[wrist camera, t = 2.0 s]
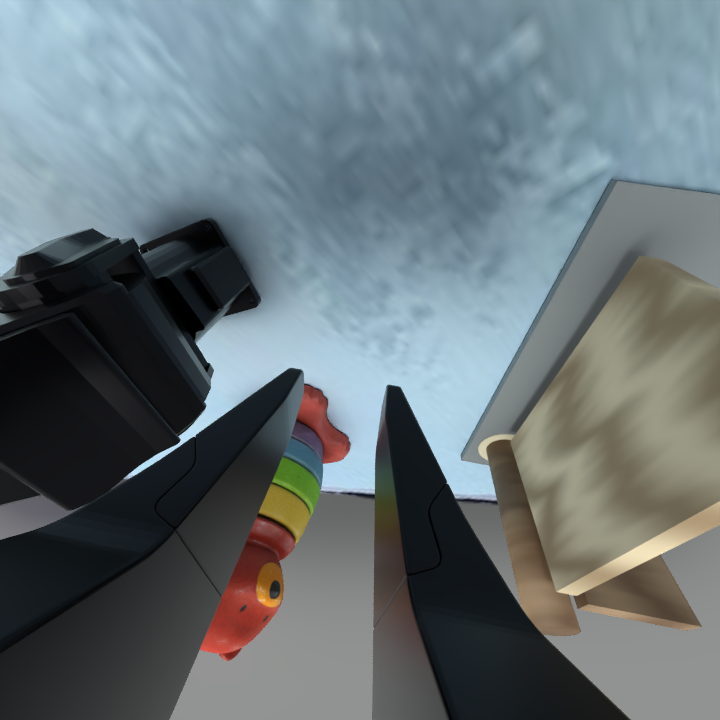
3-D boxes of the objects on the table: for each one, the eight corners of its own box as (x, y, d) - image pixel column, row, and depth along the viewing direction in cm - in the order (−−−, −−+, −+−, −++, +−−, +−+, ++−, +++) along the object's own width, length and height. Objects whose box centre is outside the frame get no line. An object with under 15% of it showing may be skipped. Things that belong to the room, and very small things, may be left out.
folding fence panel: (523, 444, 26) (576, 595, 18) (510, 442, 26) (556, 591, 18) (662, 259, 16) (947, 411, 7) (639, 255, 16) (896, 402, 7)
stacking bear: (355, 451, 33) (315, 682, 19) (278, 457, 36) (195, 662, 23) (317, 380, 27) (219, 641, 13) (228, 395, 30) (74, 620, 17)
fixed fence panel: (481, 454, 30) (517, 629, 19) (492, 436, 28) (539, 618, 17) (594, 474, 29) (692, 664, 19) (613, 457, 27) (734, 657, 17)
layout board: (460, 455, 31) (461, 461, 31) (611, 179, 15) (618, 181, 15) (637, 487, 30) (641, 493, 30) (986, 229, 15) (1008, 234, 14)
